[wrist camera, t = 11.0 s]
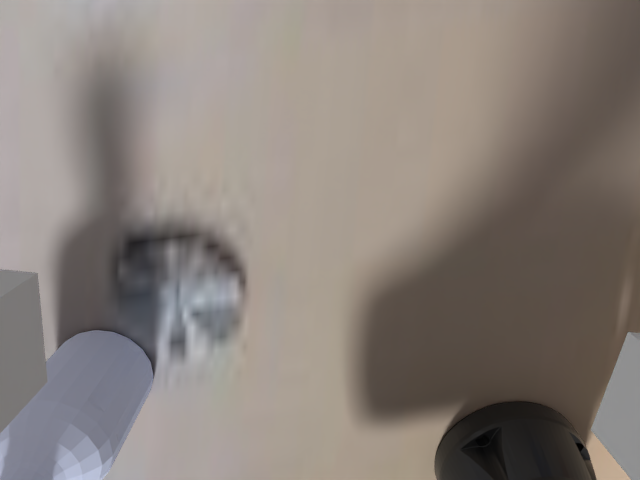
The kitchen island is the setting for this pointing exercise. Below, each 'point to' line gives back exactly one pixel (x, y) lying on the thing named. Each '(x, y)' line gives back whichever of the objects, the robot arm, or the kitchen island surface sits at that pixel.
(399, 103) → the kitchen island surface
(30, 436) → the soap bottle
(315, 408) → the kitchen island surface
